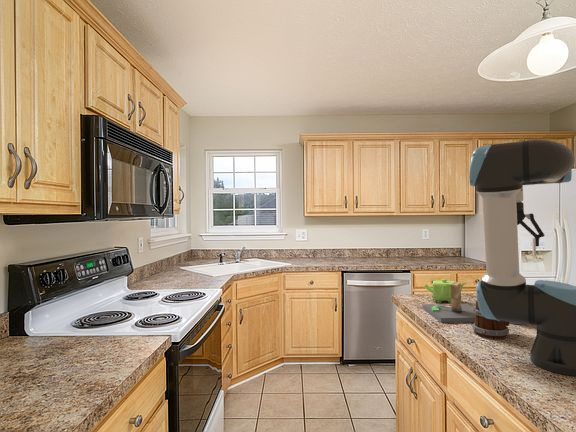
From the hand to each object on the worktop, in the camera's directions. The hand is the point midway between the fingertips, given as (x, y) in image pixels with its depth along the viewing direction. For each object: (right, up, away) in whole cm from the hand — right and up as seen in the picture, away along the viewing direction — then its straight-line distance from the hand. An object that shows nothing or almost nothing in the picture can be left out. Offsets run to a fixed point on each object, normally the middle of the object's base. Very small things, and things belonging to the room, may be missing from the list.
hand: (513, 254), depth 141 cm
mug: (-17, -27, -14) cm, 35 cm away
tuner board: (-19, -27, +10) cm, 35 cm away
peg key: (-22, -25, +10) cm, 35 cm away
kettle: (-13, -27, +33) cm, 45 cm away
